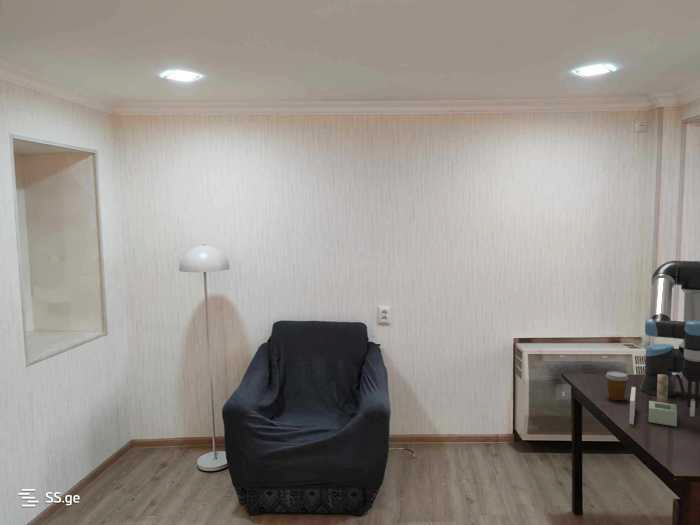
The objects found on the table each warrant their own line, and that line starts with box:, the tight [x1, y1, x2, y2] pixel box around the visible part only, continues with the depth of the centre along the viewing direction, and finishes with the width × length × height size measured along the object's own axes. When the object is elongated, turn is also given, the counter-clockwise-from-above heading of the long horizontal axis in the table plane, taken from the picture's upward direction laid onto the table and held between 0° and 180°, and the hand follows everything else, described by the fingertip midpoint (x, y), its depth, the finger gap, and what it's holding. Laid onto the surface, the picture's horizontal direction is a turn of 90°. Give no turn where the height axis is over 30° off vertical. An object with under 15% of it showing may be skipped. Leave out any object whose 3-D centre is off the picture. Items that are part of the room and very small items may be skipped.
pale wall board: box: [628, 386, 637, 425], centre depth 227 cm, size 2×20×10 cm, turn 150°
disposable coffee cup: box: [605, 370, 629, 401], centre depth 249 cm, size 10×10×12 cm
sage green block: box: [648, 400, 678, 427], centre depth 221 cm, size 10×10×6 cm
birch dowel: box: [656, 374, 669, 403], centre depth 232 cm, size 4×4×16 cm
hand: (692, 415), depth 216 cm, fingers closed
